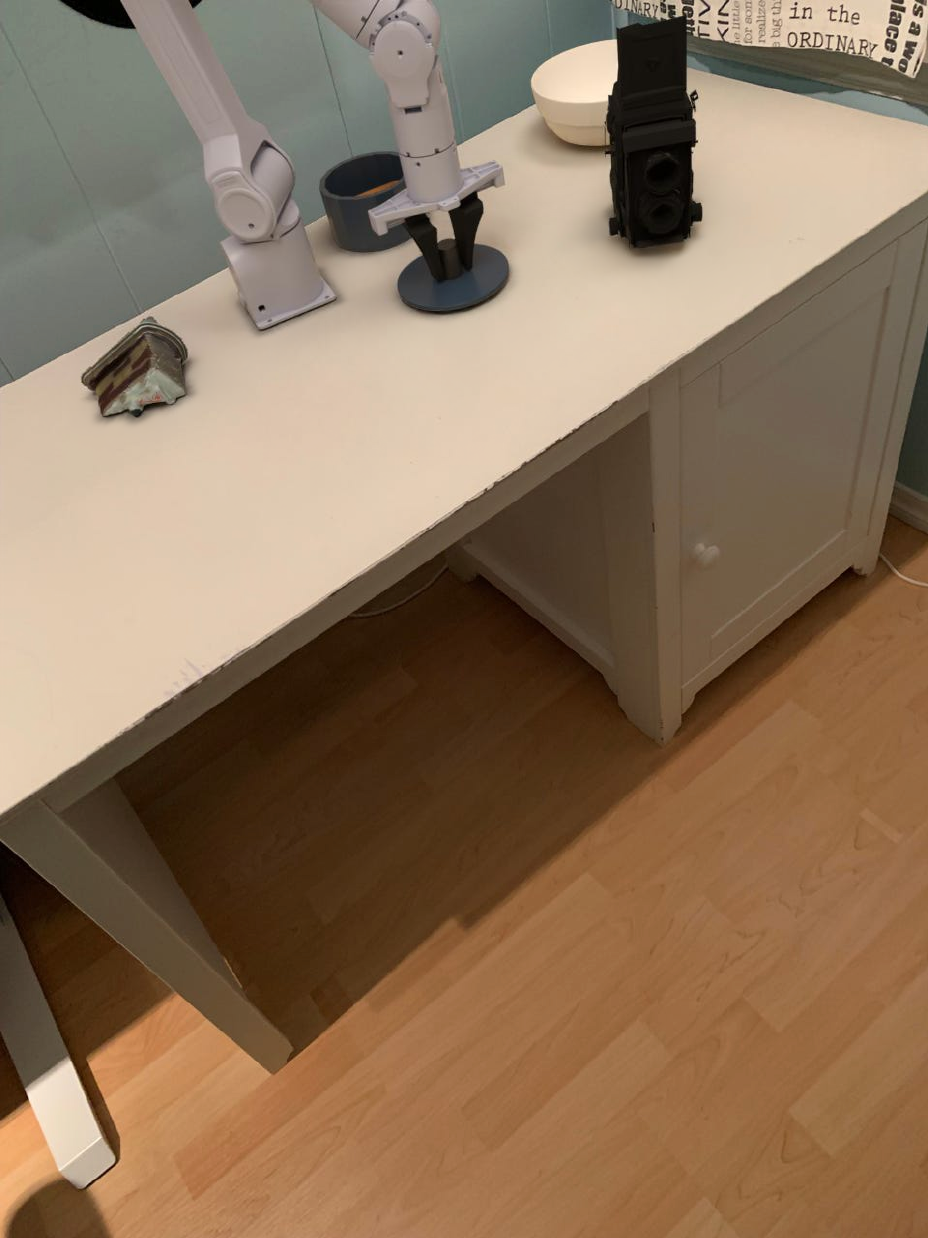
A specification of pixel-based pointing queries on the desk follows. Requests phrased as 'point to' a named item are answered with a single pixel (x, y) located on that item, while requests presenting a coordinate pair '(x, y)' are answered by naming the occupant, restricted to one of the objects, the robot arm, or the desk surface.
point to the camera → (652, 136)
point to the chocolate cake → (139, 370)
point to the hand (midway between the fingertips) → (451, 271)
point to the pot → (362, 200)
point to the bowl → (577, 91)
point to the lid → (453, 278)
